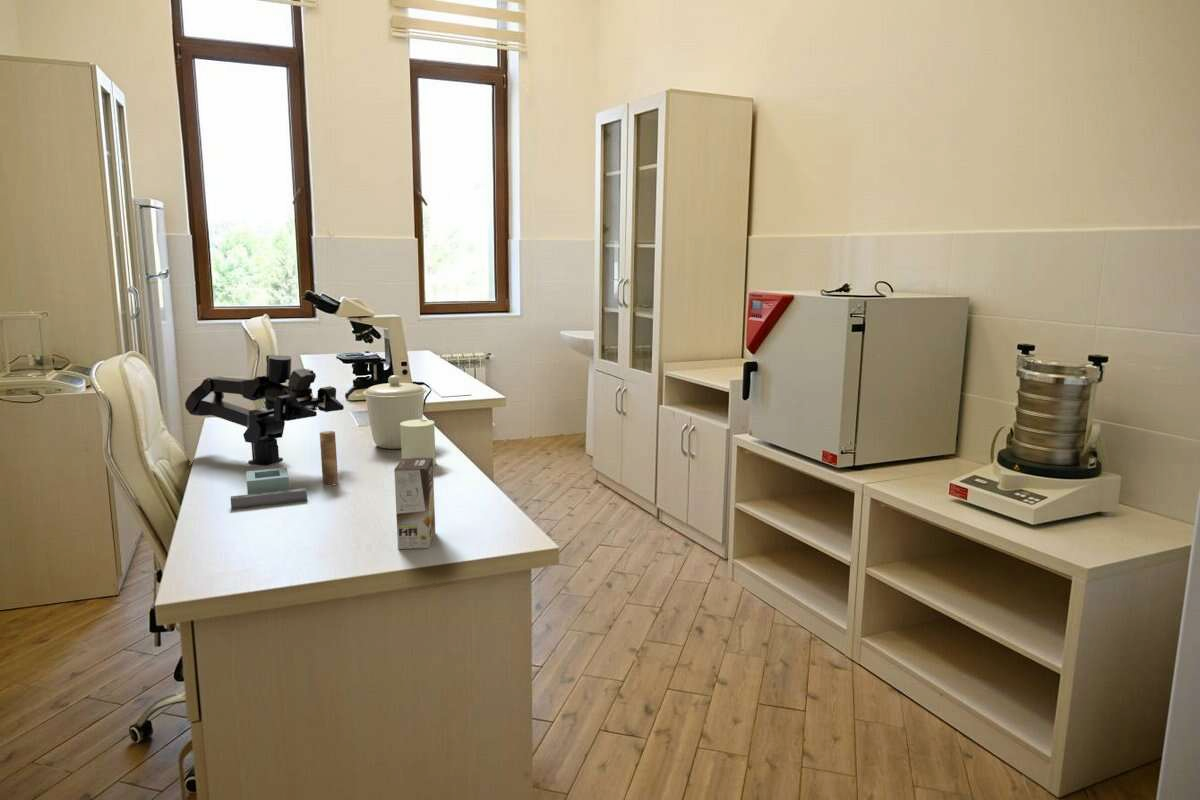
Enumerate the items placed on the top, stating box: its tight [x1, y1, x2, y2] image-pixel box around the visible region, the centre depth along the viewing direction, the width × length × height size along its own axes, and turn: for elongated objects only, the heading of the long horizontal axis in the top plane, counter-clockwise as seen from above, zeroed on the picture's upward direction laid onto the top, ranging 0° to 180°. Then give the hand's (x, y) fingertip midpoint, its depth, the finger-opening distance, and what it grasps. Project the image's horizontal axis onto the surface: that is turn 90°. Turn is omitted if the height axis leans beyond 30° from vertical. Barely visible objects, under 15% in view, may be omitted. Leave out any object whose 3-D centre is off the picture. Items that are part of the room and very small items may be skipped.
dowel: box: [319, 430, 339, 486], centre depth 197 cm, size 4×4×13 cm
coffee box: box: [393, 458, 436, 550], centre depth 158 cm, size 9×6×16 cm
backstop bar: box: [230, 487, 308, 510], centre depth 182 cm, size 2×16×2 cm, turn 114°
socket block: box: [246, 467, 291, 495], centre depth 189 cm, size 9×9×5 cm
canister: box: [362, 374, 427, 450], centre depth 236 cm, size 18×18×21 cm
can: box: [400, 418, 437, 467], centre depth 215 cm, size 9×9×12 cm
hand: (329, 410), depth 205 cm, fingers open, 9 cm apart
